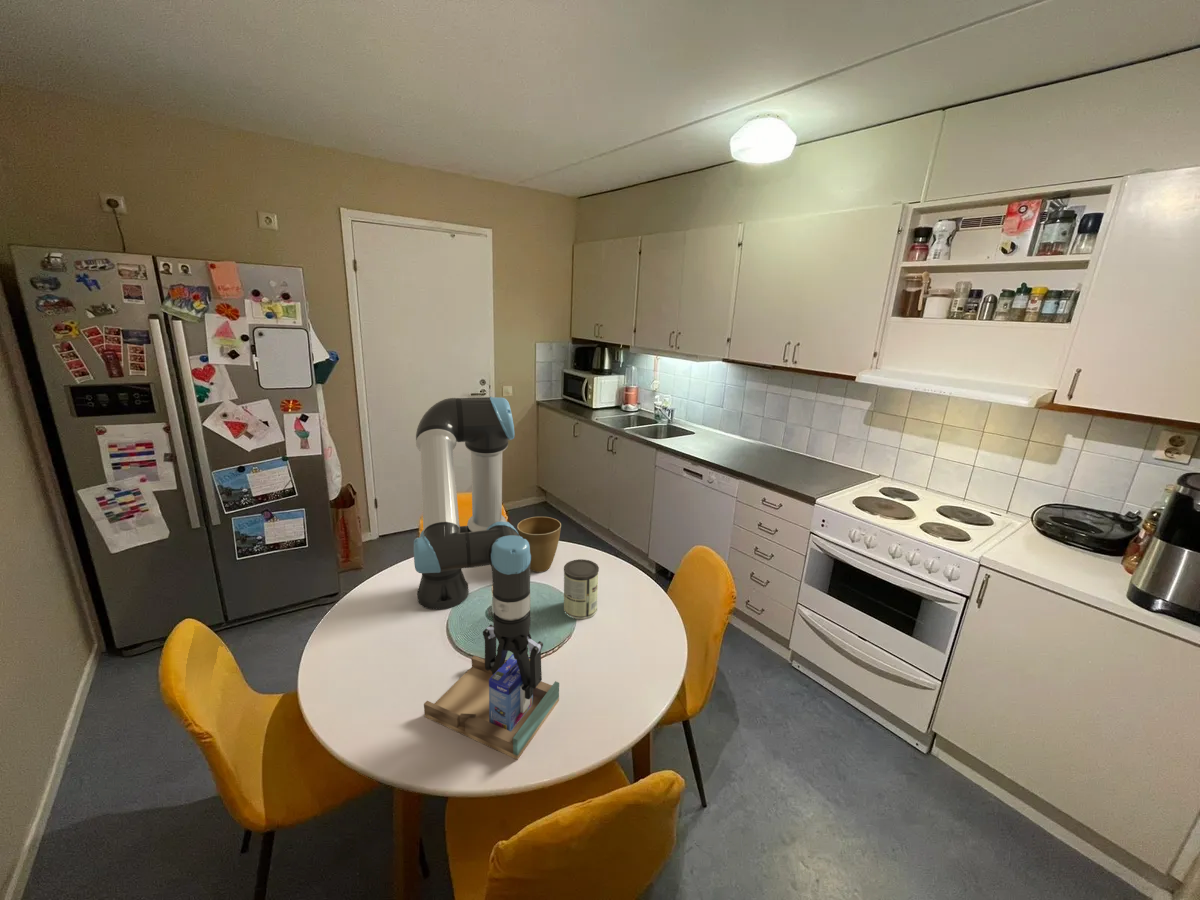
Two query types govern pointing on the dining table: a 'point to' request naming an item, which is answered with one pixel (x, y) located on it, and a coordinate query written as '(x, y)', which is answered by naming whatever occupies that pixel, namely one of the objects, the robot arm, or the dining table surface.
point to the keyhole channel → (470, 711)
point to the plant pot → (540, 540)
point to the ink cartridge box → (506, 695)
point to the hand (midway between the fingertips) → (513, 703)
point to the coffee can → (580, 588)
